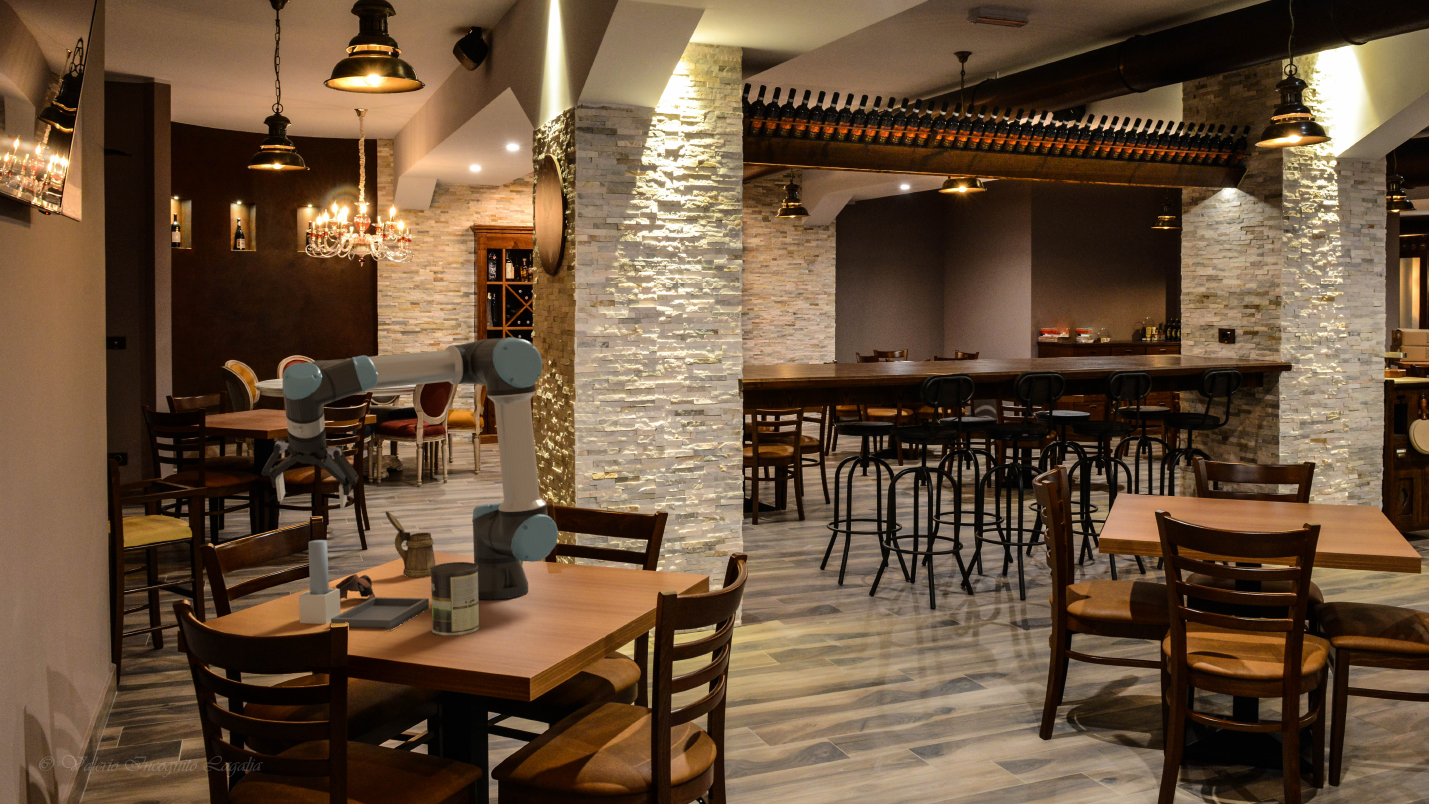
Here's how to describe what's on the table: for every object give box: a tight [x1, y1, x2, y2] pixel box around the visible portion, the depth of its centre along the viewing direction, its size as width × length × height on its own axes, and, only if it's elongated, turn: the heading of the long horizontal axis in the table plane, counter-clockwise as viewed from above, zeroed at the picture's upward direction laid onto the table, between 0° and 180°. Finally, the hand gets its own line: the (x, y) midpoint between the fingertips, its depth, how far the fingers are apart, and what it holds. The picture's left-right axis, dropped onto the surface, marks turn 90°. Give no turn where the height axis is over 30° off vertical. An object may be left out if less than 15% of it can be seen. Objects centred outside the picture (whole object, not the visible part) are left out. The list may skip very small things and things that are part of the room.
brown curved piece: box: [332, 574, 376, 601], centre depth 253 cm, size 12×10×8 cm
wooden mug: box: [385, 511, 437, 578], centre depth 284 cm, size 9×14×18 cm, turn 99°
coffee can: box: [430, 561, 480, 637], centre depth 226 cm, size 10×10×14 cm
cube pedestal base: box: [298, 588, 341, 625], centre depth 235 cm, size 6×6×7 cm
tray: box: [330, 596, 430, 630], centre depth 237 cm, size 14×20×2 cm
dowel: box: [308, 539, 330, 595], centre depth 234 cm, size 4×4×18 cm
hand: (312, 500), depth 232 cm, fingers open, 13 cm apart
